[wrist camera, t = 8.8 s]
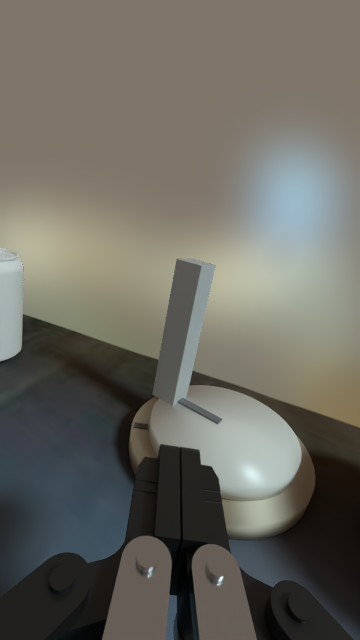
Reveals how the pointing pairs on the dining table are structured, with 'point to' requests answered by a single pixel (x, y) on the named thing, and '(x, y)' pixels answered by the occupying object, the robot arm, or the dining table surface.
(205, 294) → the dial
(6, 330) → the beverage can
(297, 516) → the dial base
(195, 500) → the robot arm
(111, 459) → the dining table surface
